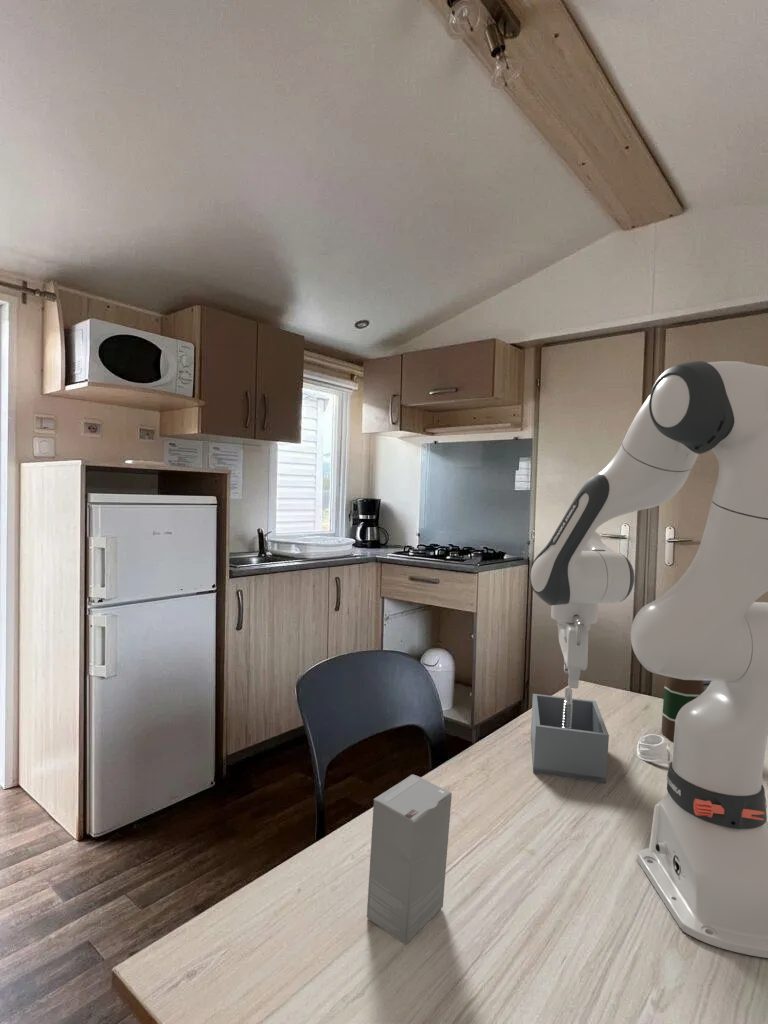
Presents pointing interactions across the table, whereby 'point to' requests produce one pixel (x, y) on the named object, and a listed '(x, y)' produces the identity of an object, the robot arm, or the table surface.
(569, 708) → the screw
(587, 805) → the table surface
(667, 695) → the beer bottle
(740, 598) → the robot arm
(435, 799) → the skincare box
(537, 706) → the tote
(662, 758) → the white crumpled ring
